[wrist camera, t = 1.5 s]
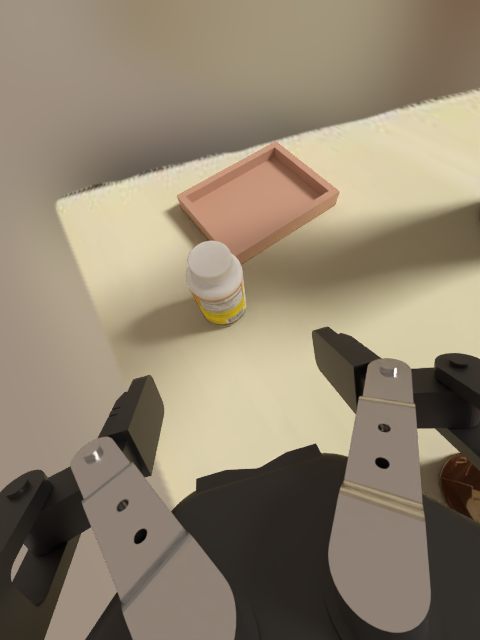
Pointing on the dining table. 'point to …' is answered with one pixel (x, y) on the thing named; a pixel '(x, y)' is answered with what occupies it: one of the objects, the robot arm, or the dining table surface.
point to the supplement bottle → (216, 283)
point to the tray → (257, 201)
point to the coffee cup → (461, 486)
